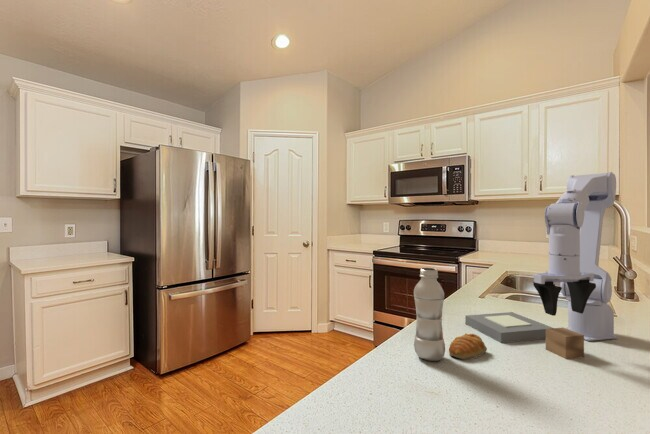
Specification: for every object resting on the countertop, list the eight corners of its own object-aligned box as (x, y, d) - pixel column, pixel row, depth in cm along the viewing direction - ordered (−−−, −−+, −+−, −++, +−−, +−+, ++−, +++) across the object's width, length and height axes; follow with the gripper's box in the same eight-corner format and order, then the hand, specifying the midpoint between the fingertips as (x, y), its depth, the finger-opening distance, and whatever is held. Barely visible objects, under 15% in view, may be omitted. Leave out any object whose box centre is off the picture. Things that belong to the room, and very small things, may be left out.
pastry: (469, 365, 67) (469, 347, 67) (440, 355, 72) (440, 338, 72) (488, 353, 73) (488, 336, 73) (460, 344, 78) (460, 329, 78)
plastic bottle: (442, 367, 65) (441, 272, 65) (410, 360, 69) (409, 269, 69) (448, 356, 71) (447, 268, 71) (418, 349, 74) (417, 265, 74)
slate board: (512, 320, 95) (512, 311, 95) (554, 337, 81) (554, 327, 81) (465, 323, 92) (465, 314, 92) (501, 342, 78) (500, 331, 78)
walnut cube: (563, 348, 75) (563, 327, 75) (583, 357, 70) (583, 335, 70) (545, 349, 74) (545, 328, 74) (565, 359, 69) (565, 336, 69)
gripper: (572, 252, 77) (573, 306, 78) (523, 253, 75) (523, 310, 75) (603, 255, 71) (603, 315, 71) (549, 257, 68) (549, 319, 68)
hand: (564, 313), depth 72 cm, fingers open, 7 cm apart
